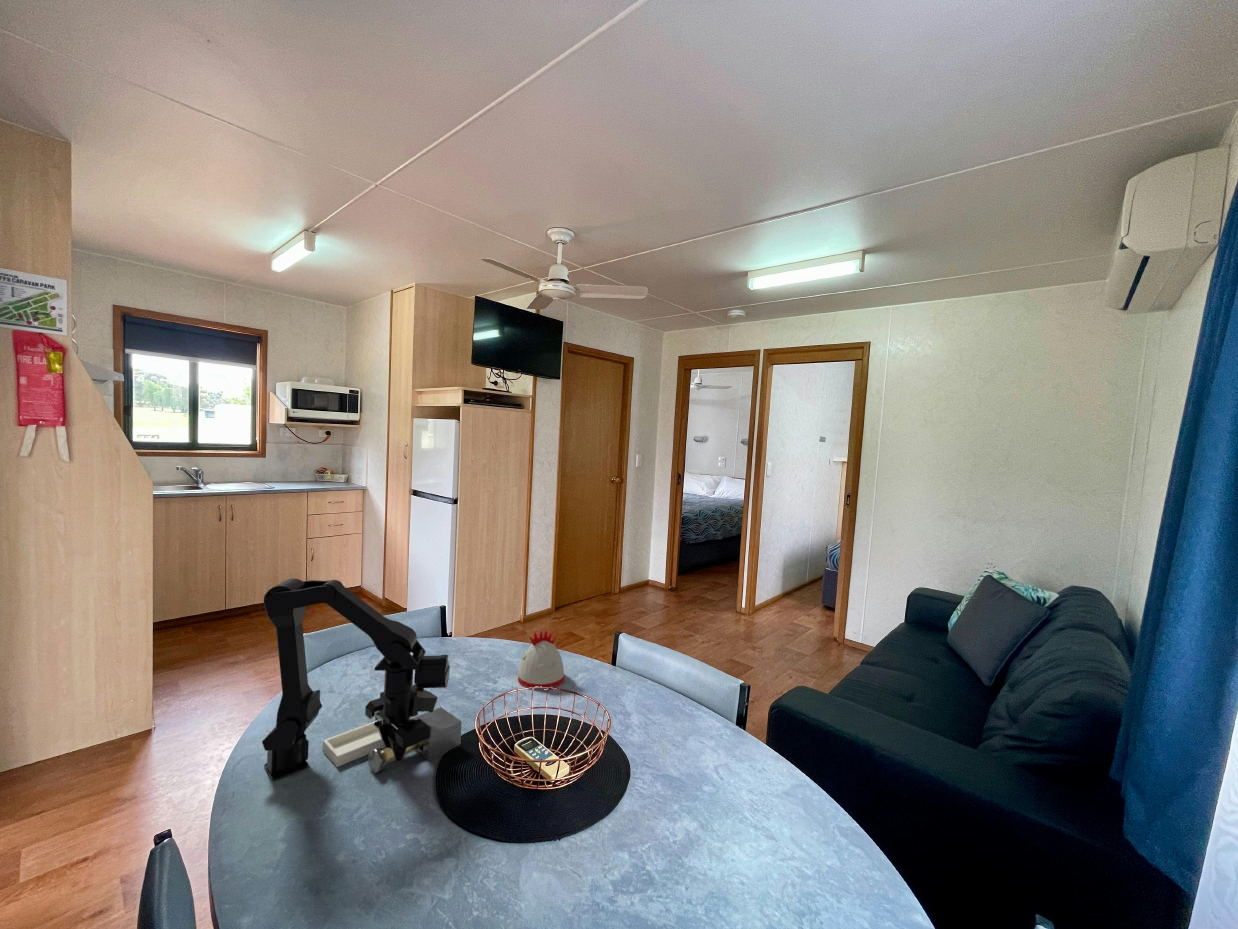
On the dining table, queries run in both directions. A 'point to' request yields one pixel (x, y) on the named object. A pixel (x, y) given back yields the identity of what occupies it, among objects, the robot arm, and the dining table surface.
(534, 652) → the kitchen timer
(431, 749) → the block
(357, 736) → the tray
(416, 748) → the pin
